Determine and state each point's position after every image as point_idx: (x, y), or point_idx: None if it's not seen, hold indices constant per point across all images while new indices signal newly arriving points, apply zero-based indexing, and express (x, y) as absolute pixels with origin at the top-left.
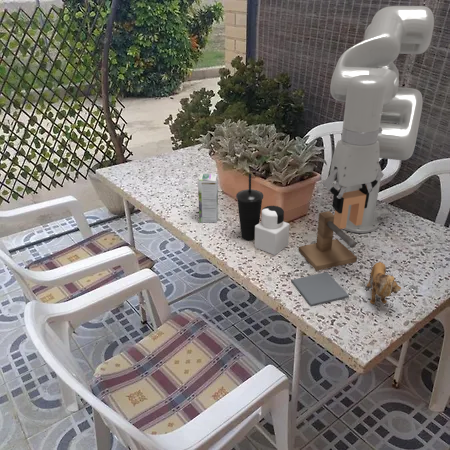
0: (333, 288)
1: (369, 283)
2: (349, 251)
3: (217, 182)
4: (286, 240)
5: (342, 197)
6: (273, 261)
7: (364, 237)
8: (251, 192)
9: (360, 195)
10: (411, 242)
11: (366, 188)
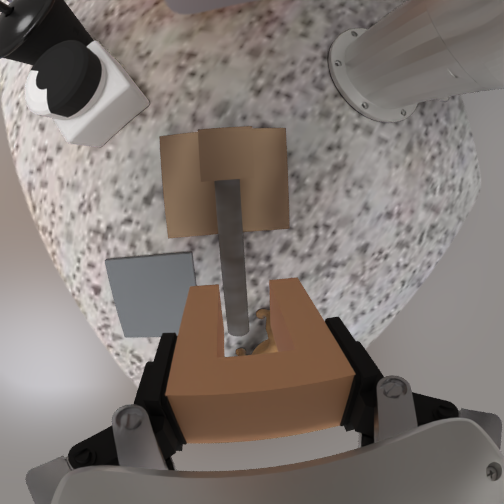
0: (181, 310)
1: (263, 315)
2: (285, 197)
3: None
4: (134, 108)
5: (181, 439)
6: (90, 172)
7: (363, 134)
8: (8, 18)
9: (309, 427)
10: (430, 195)
11: (360, 443)
